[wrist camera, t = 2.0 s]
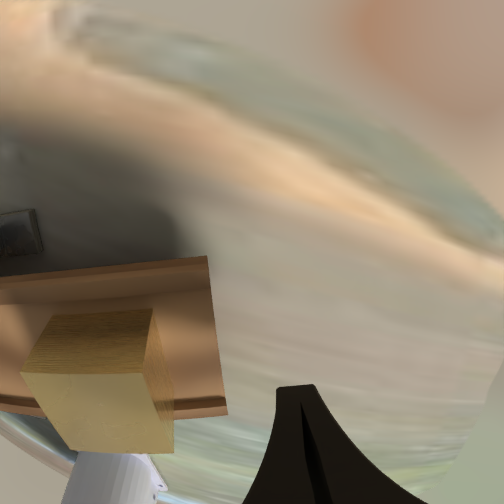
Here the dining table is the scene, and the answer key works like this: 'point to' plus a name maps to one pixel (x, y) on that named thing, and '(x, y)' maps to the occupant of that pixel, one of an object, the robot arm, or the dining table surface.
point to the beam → (119, 299)
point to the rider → (104, 382)
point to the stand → (19, 236)
